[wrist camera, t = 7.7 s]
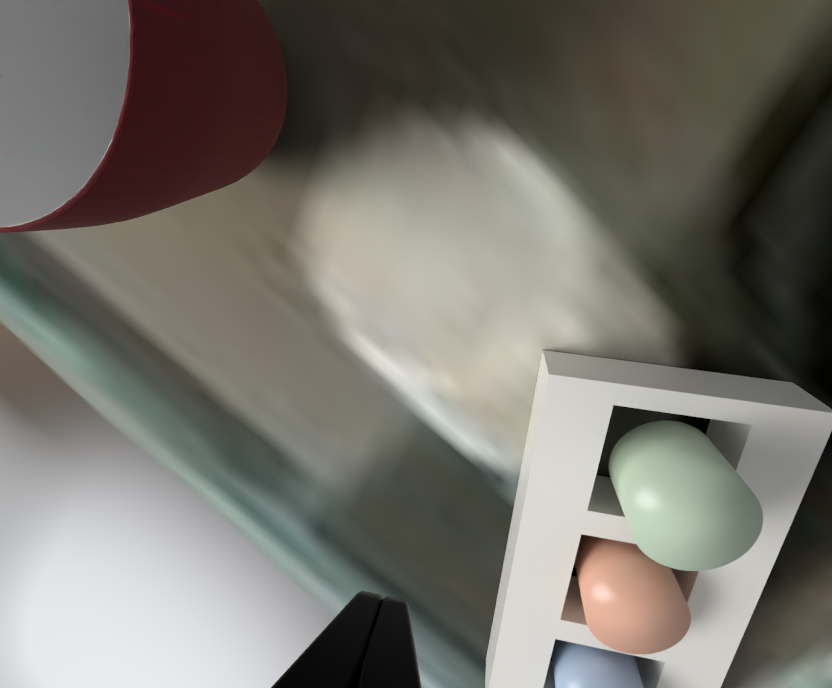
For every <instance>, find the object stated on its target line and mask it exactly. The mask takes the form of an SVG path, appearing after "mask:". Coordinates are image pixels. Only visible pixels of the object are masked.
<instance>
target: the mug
mask: <svg viewBox="0 0 832 688" xmlns="http://www.w3.org/2000/svg"><path fill="white" fill-rule="evenodd" d="M287 93H288V88H287V75H286V68H285V64H284V59H283V55H282V51H281V48H280V45H279V42H278V39H277V37H276V34H275V32H274V29H273V27H272V25H271V23H270V21H269V19H268V17H267V15H266V14H265V12H264V10H263V9H262V7H261V5H260V4H259V2H258V1H257V0H0V233H9V232H25V231H40V230H56V229H68V228H79V227H89V226H98V225H104V224H109V223H115V222H121V221H126V220H130V219H134V218H137V217H141V216H144V215H147V214H150V213H153V212H156V211H159V210H162V209H165V208H168V207H170V206H173V205H176V204H179V203H181V202H184V201H187V200H190V199H193V198H195V197H198V196H201V195H204V194H206V193H209V192H212V191H215V190H217V189H220V188H223V187H225V186H227V185H230V184H232V183H234V182H236V181H238V180H240V179H241V178H243V177H245V176H246V175H247V174H249V173H250V172H251V171H253V170H254V169H255V168H256V167H257V166H258V165H259V164H260V163H261V162H262V161H263V160H264V159H265V157H266V156H267V155H268V154H269V152H270V151H271V149H272V148H273V146H274V144H275V142H276V140H277V139H278V136H279V134H280V131H281V129H282V125H283V122H284V119H285V114H286V108H287Z"/></svg>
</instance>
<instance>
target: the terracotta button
mask: <svg viewBox="0 0 832 688" xmlns="http://www.w3.org/2000/svg"><path fill="white" fill-rule="evenodd" d="M575 567H576V572H577V577H578V583H579V588H580V593H581V598H582V603H583V608H584V613H585V618H586V623H587V625H588V628H589V629H590V631H591V633H592V634H593V635H594V636H595V637H596V638H597V639H598V640H599V641H600V642H601V643H603V644H604V645H606V646H608V647H610V648H612V649H614V650H617V651H620V652H624V653H629V654H653V653H657V652H661V651H664V650H666V649H669V648H671V647H672V646H674V645H676V644H677V643H678V642H680V641H681V640H682V639H683V638H684V636H685V635H686V633H687V632H688V630H689V627H690V624H691V613H690V610H689V607H688V605H687V602H686V600H685V598H684V596H683V593H682V591H681V589H680V587H679V584H678V582H677V580H676V578H675V575H674V573H673V571H672V569H671V568H670V567H667V566H664V565H662V564H659V563H657V562H655V561H654V560H652V559H651V558H649V557H648V556H647V555H646V554H644V553H643V552H642V551H641V549H640V548H639V547H638V546H637V544H633V543H627V542H622V541H616V540H610V539H605V538H599V537H594V536H588V535H583V534H582V535H581V538H580V542H579V546H578V550H577V554H576V558H575Z"/></svg>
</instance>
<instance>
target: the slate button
mask: <svg viewBox="0 0 832 688" xmlns="http://www.w3.org/2000/svg"><path fill="white" fill-rule="evenodd" d="M552 661H553V670H554V679H555V688H644V687H643V684H642V680H641V677H640V673H639V670H638V666H637V663H636V659H635V656H633V655H629V654H624V653H619V652H614V651H610V650H605V649H600V648H595V647H591V646H586V645H581V644H576V643H572V642H567V641H562V640H557V639H555V643H554V647H553V651H552Z"/></svg>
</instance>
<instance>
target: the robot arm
mask: <svg viewBox="0 0 832 688" xmlns="http://www.w3.org/2000/svg"><path fill="white" fill-rule="evenodd" d="M271 688H421V682H420V676H419V669H418V663H417V657H416V650H415V644H414V638H413V631H412V625H411V619H410V612H409V606H408V603H407V601H406V600H403V599H398V598H394V597H389V596H387V597H385V598H384V599H383V597H382V596H381V595H379V594H374V593H370V592H365V591H361V592H359V593H357V594H356V595H355V596H354V598H353V599H352V600H351V601H350V602H349V603H348V604H347V605H346V606H345V607H344V609H343V610H342V611H341V612H340V613H339V614H338V615H337V616H336V617H335V618H334V619H333V621H332V622H331V623H330V624H329V625H328V626H327V627H326V628H325V629H324V630H323V631H322V633H321V634H320V635H319V636H318V637H317V638H316V639H315V640H314V641H313V643H312V644H311V645H310V646H309V647H308V648H307V649H306V650H305V651H304V652H303V653H302V655H301V656H300V657H299V658H298V659H297V660H296V661H295V662H294V663H293V664H292V665H291V666H290V668H289V669H288V670H287V671H286V672H285V673H284V674H283V675H282V676H281V677H280V678H279V680H278V681H277V682H276V683H275V684H274V685H273V686H272V687H271Z"/></svg>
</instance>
